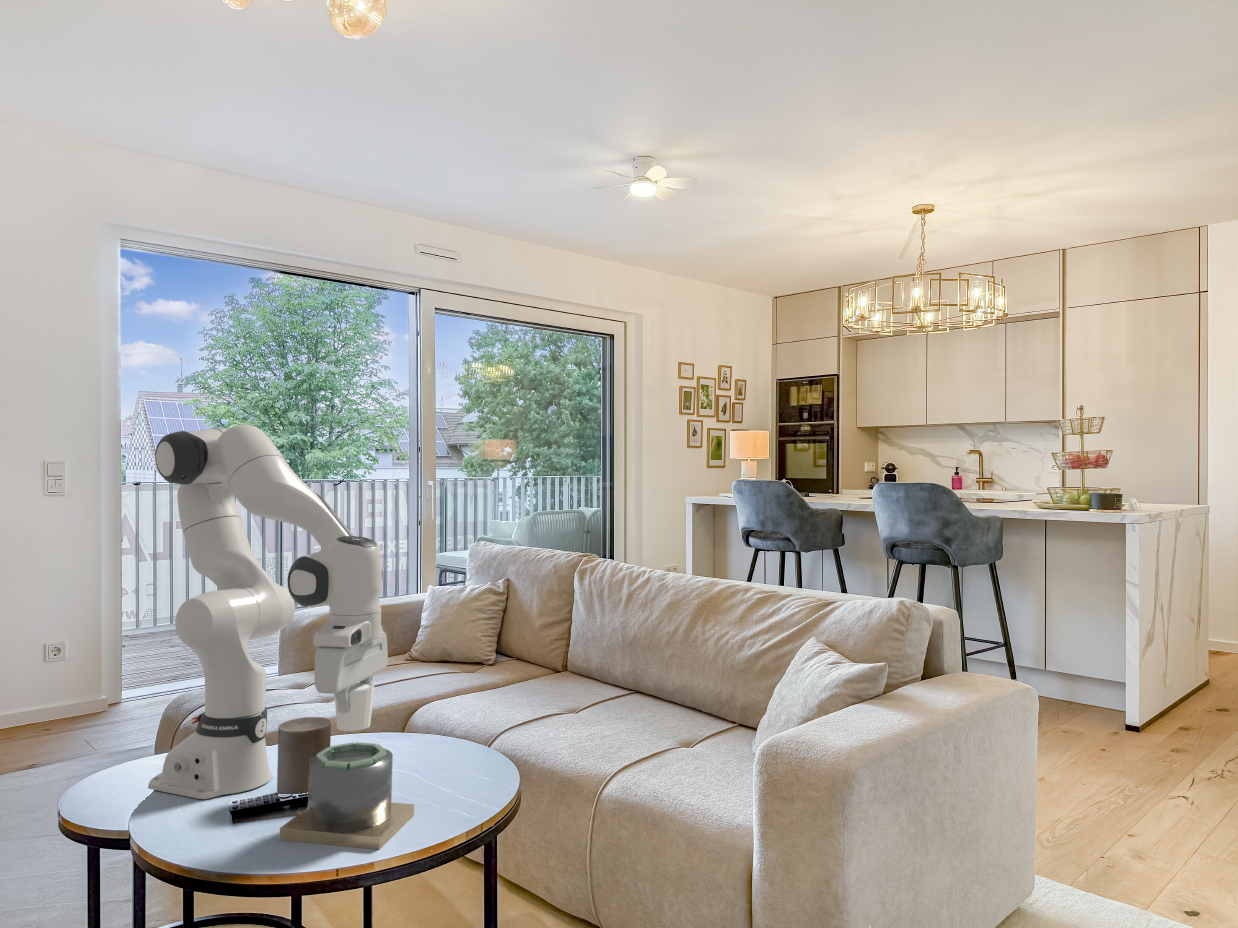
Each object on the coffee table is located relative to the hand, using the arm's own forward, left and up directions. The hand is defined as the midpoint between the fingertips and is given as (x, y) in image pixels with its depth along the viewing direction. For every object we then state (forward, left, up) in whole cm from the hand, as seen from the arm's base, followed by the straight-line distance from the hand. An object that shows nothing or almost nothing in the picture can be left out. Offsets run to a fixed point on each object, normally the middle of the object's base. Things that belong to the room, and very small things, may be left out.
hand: (353, 706), depth 140 cm
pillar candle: (-16, +12, -21) cm, 29 cm away
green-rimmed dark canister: (0, 0, -21) cm, 21 cm away
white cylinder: (0, 0, -4) cm, 4 cm away
